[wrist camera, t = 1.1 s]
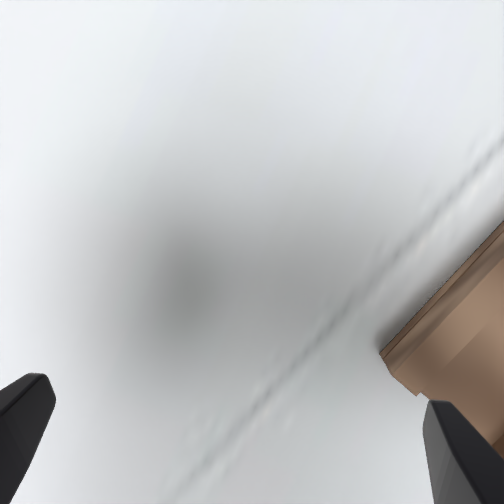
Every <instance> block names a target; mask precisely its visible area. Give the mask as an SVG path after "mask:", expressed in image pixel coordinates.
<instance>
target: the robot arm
mask: <svg viewBox="0 0 504 504" xmlns="http://www.w3.org/2000/svg"><path fill="white" fill-rule="evenodd" d="M55 403H56V396H55V393H54V391H53V388H52V386H51V383H50V381H49V378H48V377H47V375H45V374H42V373H28V374H26V375H24V376H23V377H21V378H19V379H18V380H16V381H15V382H13V383H11V384H10V385H8V386H7V387H5V388H3V389H2V390H0V504H10V502H11V500H12V498H13V496H14V495H15V493H16V491H17V489H18V487H19V485H20V483H21V482H22V480H23V478H24V476H25V474H26V472H27V470H28V468H29V466H30V464H31V461H32V459H33V457H34V455H35V452H36V450H37V448H38V445H39V443H40V440H41V438H42V436H43V433H44V431H45V429H46V426H47V424H48V422H49V419H50V417H51V414H52V412H53V410H54V407H55ZM423 438H424V444H425V450H426V456H427V462H428V468H429V475H430V481H431V487H432V493H433V499H434V504H504V459H503V458H502V457H501V456H500V454H499V453H498V452H497V451H496V450H495V449H494V448H493V447H492V446H491V445H490V444H489V443H488V441H487V440H486V439H485V438H484V437H483V436H482V435H481V434H480V433H479V432H478V431H477V430H476V428H475V427H474V426H473V425H472V424H471V423H470V422H469V421H468V420H467V419H466V418H465V417H464V415H463V414H462V413H461V412H460V411H459V410H458V409H457V408H456V407H455V406H454V405H453V404H452V403H451V402H450V401H447V400H435V399H432V400H429V402H428V404H427V409H426V413H425V418H424V422H423Z"/></svg>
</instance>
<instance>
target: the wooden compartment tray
mask: <svg viewBox="0 0 504 504" xmlns="http://www.w3.org/2000/svg"><path fill="white" fill-rule="evenodd" d="M379 354H380V356H381V358H382V359H383V361H384V363H385V364H386V366H387V368H388V370H389V372H390V374H391V375H392V376H393V377H394V378H395V379H396V380H398V381H399V382H400V383H401V384H402V385H403V386H405V387H406V388H407V389H408V390H409V391H410V392H412V393H413V394H414V395H415V396H417V395H418V394H419V393H420V392H421V393H422V394H424V395H425V396H426V397H427V398H428V399H429V400H432V399H435V400H447V401H450V402H451V403H452V404H453V405H454V406H455V407H456V408H457V409H458V410H459V411H460V412H461V413H462V414H463V415H464V417H465V418H466V419H467V420H468V421H469V422H470V423H471V424H472V425H473V426H474V427H475V428H476V430H477V431H478V432H479V433H480V434H481V435H482V436H483V437H484V438H485V439H486V440H487V441H488V443H489V444H490V445H491V446H492V447H493V448H494V449H495V450H496V451H497V452H498V453H499V454H500V456H501V457H502V458H503V459H504V221H503V222H502V223H501V224H500V225H499V226H498V227H497V228H496V230H495V231H494V232H493V233H492V234H491V235H490V236H489V237H488V238H487V239H486V240H485V241H484V242H483V243H482V244H481V246H480V247H479V248H478V249H477V250H476V251H475V252H474V253H473V254H472V255H471V256H470V257H469V258H468V259H467V261H466V262H465V263H464V264H463V265H462V266H461V267H460V268H459V269H458V270H457V271H456V272H455V273H454V274H453V275H452V277H451V278H450V279H449V280H448V281H447V282H446V283H445V284H444V285H443V286H442V287H441V288H440V289H439V290H438V291H437V293H436V294H435V295H434V296H433V297H432V298H431V299H430V300H429V301H428V302H427V303H426V304H425V305H424V306H423V308H422V309H421V310H420V311H419V312H418V313H417V314H416V315H415V316H414V317H413V318H412V319H411V320H410V321H409V322H408V324H407V325H406V326H405V327H404V328H403V329H402V330H401V331H400V332H399V333H398V334H397V335H396V336H395V337H394V338H393V340H392V341H391V342H390V343H389V344H388V345H387V346H386V347H385V348H384V349H383V350H382V351H381V352H380V353H379Z"/></svg>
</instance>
